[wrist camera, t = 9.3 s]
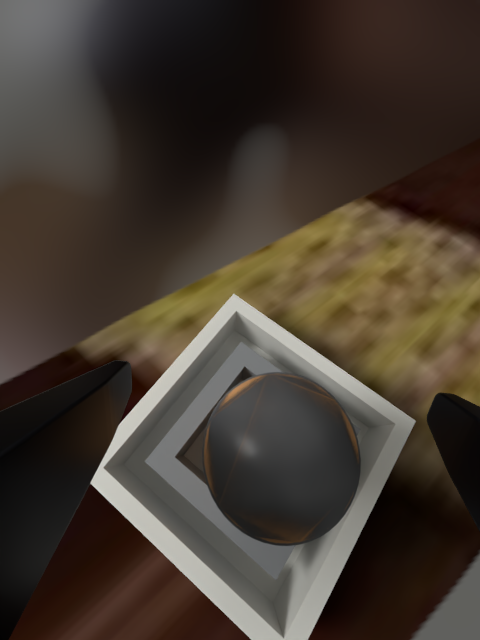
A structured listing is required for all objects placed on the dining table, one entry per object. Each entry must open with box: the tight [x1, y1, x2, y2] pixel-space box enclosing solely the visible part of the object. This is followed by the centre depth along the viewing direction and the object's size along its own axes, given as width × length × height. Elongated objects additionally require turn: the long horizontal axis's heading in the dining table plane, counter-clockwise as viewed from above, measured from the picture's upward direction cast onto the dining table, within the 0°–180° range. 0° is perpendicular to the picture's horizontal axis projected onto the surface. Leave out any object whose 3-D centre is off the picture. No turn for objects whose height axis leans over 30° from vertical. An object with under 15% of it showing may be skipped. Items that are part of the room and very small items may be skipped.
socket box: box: [91, 294, 416, 640], centre depth 17 cm, size 12×12×4 cm
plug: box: [202, 372, 361, 546], centre depth 13 cm, size 4×4×11 cm
